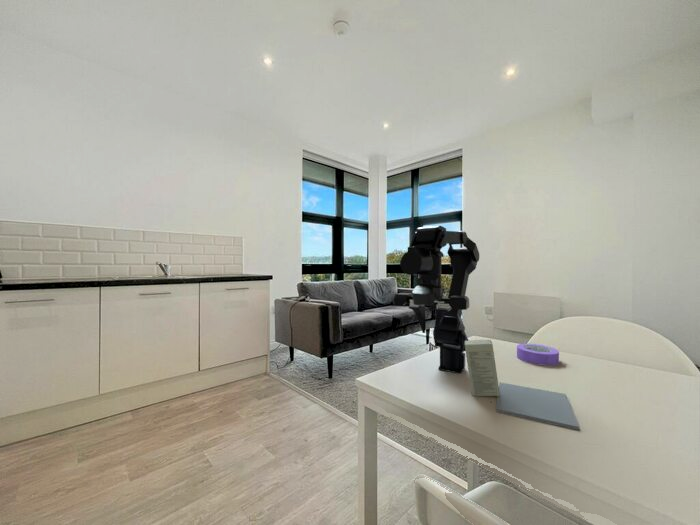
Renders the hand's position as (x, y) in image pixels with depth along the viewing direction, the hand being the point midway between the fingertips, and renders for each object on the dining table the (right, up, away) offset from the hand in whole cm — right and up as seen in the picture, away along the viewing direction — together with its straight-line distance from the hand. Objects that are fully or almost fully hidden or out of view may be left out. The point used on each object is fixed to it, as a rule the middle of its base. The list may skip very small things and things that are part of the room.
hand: (429, 333), depth 77 cm
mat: (+20, -13, -11) cm, 26 cm away
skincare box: (+11, -13, -6) cm, 18 cm away
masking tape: (+41, -14, +20) cm, 47 cm away
